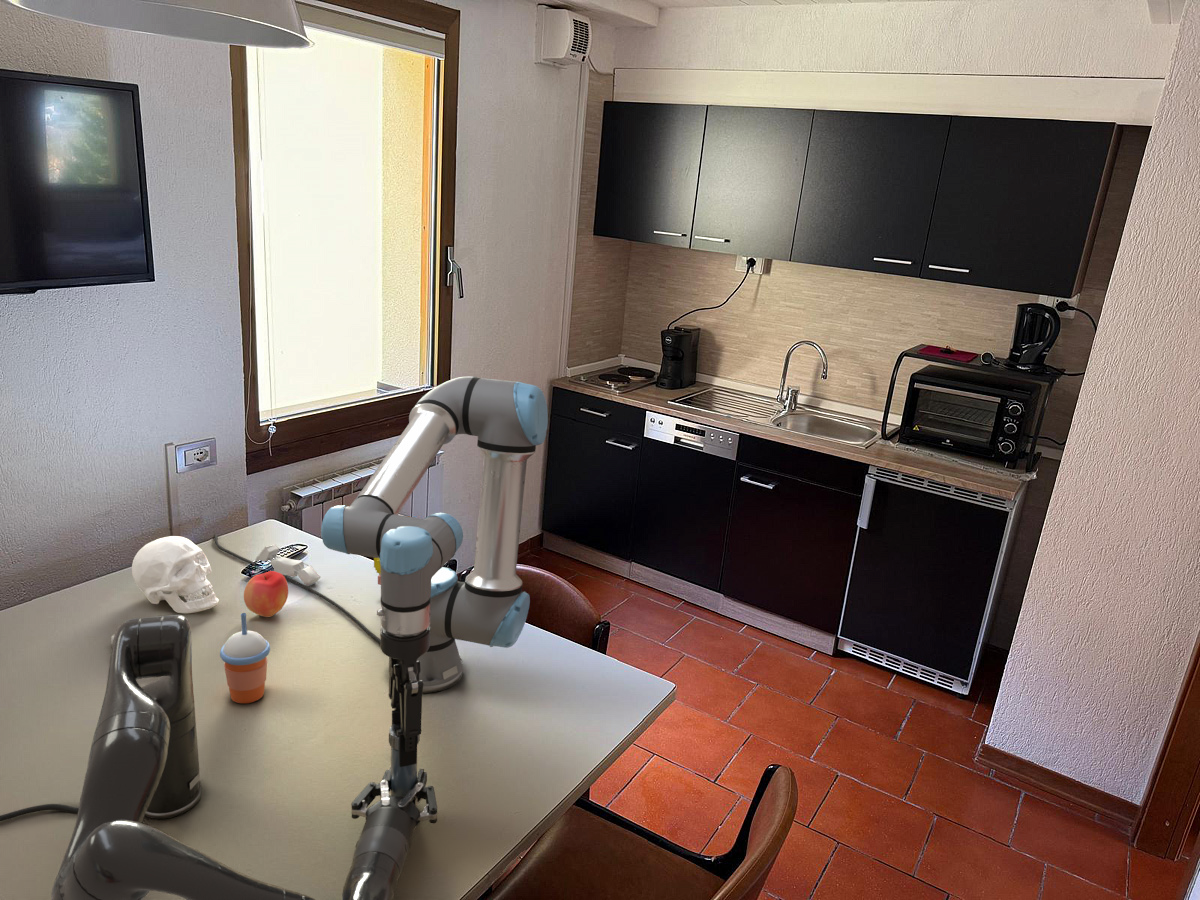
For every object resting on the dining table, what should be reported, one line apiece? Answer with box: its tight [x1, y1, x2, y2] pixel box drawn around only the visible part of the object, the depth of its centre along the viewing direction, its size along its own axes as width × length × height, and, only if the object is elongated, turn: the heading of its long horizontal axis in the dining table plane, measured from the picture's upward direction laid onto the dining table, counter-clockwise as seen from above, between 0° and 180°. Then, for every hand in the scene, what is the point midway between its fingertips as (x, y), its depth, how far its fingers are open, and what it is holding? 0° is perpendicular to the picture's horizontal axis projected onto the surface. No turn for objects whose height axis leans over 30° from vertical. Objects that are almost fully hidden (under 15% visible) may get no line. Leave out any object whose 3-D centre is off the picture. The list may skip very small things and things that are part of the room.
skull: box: [131, 535, 220, 615], centre depth 201 cm, size 13×22×16 cm, turn 73°
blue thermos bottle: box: [390, 746, 418, 797], centre depth 140 cm, size 4×4×16 cm
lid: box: [388, 721, 421, 750], centre depth 138 cm, size 5×5×2 cm
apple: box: [243, 571, 289, 618], centre depth 199 cm, size 10×10×10 cm
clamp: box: [254, 544, 322, 587], centre depth 219 cm, size 20×4×7 cm, turn 62°
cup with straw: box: [219, 612, 271, 704], centre depth 167 cm, size 9×9×18 cm
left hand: (407, 772), depth 143 cm, fingers closed on blue thermos bottle, 4 cm apart
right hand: (404, 753), depth 139 cm, fingers closed on lid, 5 cm apart
